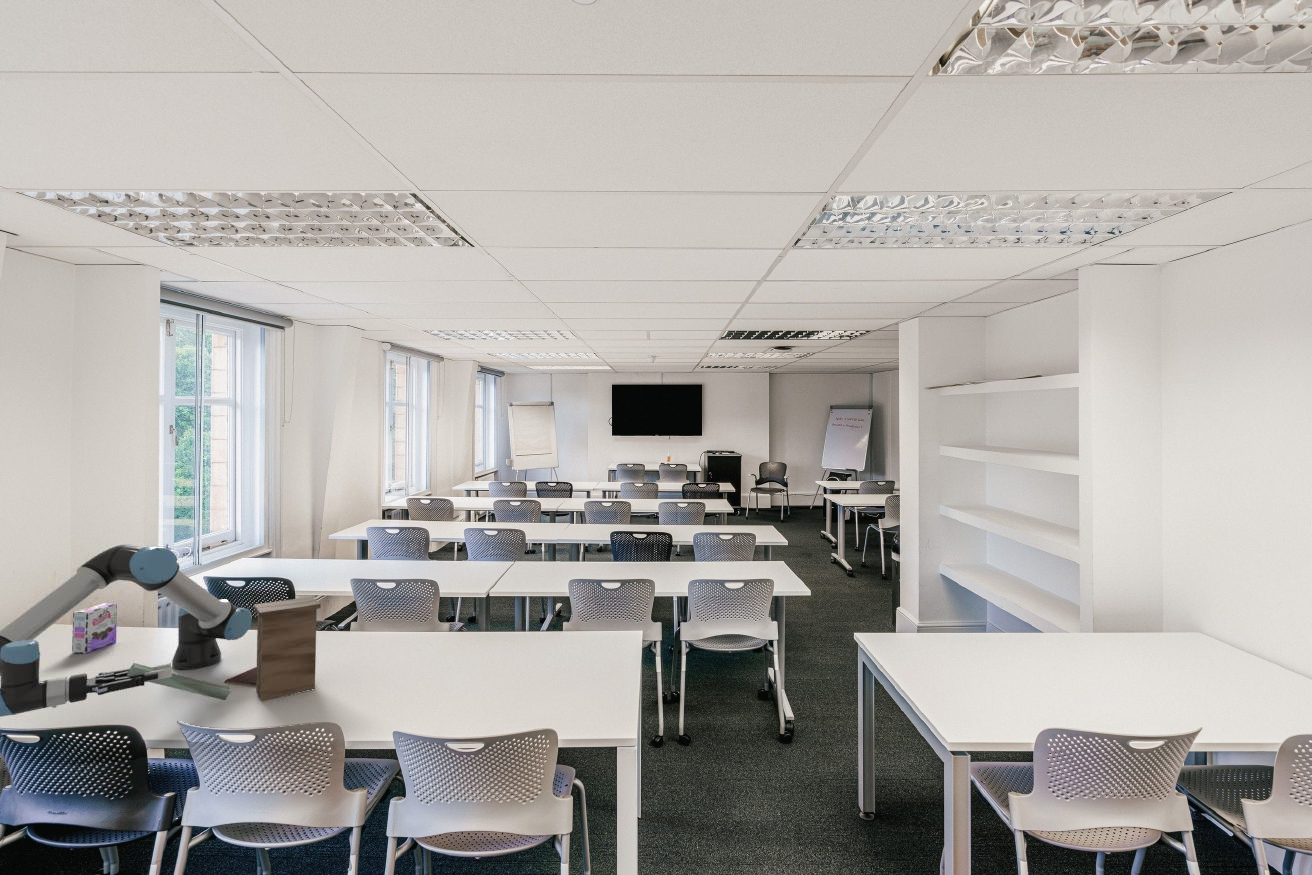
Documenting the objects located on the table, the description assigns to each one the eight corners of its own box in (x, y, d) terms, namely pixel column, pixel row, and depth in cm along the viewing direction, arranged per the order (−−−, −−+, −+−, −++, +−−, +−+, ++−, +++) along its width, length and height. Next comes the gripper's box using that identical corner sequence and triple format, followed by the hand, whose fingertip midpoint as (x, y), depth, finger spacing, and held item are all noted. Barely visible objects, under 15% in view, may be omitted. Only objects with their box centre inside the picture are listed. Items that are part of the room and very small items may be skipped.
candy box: (86, 653, 243) (86, 612, 243) (71, 653, 243) (72, 611, 243) (117, 642, 257) (117, 602, 257) (103, 641, 257) (103, 602, 257)
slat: (127, 672, 188) (133, 662, 189) (223, 696, 204) (229, 687, 205) (127, 676, 185) (134, 666, 186) (225, 700, 201) (230, 691, 202)
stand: (252, 691, 213) (254, 604, 213) (310, 678, 225) (312, 596, 225) (258, 703, 204) (260, 612, 204) (318, 689, 216) (320, 603, 216)
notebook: (224, 684, 219) (224, 678, 219) (269, 664, 239) (269, 659, 239) (260, 689, 216) (260, 683, 216) (303, 668, 236) (303, 663, 236)
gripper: (69, 692, 185) (169, 673, 200) (66, 713, 172) (173, 690, 187) (70, 667, 185) (169, 650, 200) (66, 686, 172) (173, 666, 187)
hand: (171, 669), depth 194 cm, fingers closed on slat, 4 cm apart
